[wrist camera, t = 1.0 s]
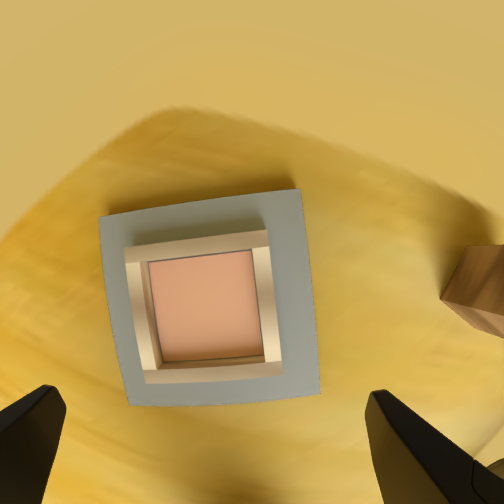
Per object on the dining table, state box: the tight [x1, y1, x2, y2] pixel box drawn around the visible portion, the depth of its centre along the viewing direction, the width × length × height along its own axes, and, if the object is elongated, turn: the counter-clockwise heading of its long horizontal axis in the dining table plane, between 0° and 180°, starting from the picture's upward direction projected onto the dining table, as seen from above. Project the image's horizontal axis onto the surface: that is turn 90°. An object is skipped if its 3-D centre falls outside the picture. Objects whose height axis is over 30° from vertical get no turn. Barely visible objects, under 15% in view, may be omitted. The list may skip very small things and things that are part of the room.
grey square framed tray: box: [99, 188, 321, 406], centre depth 20 cm, size 14×14×3 cm
